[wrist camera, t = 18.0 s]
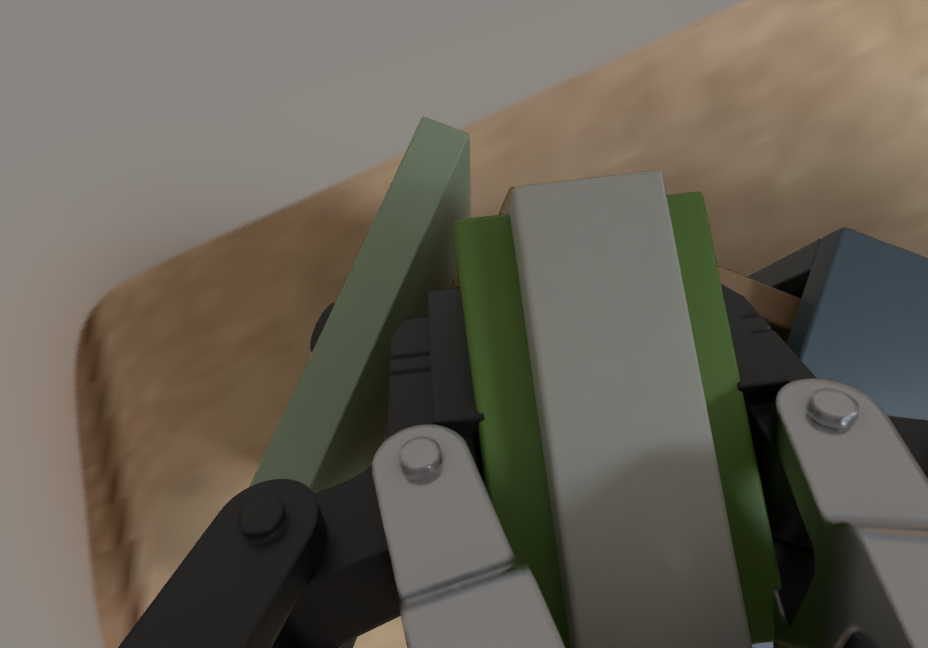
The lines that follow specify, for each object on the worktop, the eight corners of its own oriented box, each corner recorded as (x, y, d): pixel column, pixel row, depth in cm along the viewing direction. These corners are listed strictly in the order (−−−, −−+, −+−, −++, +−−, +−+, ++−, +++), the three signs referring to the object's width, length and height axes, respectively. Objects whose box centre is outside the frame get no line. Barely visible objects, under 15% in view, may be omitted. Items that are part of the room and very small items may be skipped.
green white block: (590, 299, 16) (723, 159, 7) (628, 532, 15) (834, 675, 6) (461, 314, 16) (450, 192, 7) (489, 549, 15) (513, 713, 6)
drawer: (288, 485, 19) (166, 527, 12) (411, 216, 21) (374, 96, 13) (671, 657, 18) (814, 828, 11) (771, 359, 20) (959, 320, 12)
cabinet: (563, 623, 19) (649, 815, 10) (677, 313, 21) (843, 224, 12) (960, 802, 18) (1485, 1211, 9) (1046, 460, 20) (1562, 495, 11)
